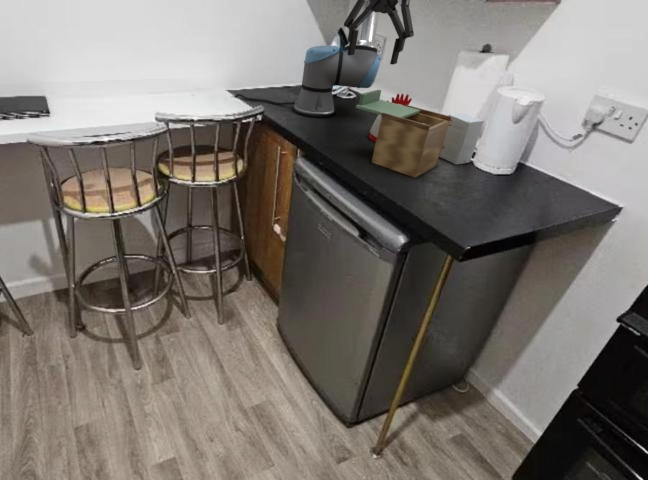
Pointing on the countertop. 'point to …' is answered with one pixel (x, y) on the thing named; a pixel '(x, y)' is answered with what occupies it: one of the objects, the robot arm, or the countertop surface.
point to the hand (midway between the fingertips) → (371, 59)
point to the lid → (383, 105)
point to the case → (410, 141)
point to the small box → (461, 138)
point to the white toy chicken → (376, 124)
